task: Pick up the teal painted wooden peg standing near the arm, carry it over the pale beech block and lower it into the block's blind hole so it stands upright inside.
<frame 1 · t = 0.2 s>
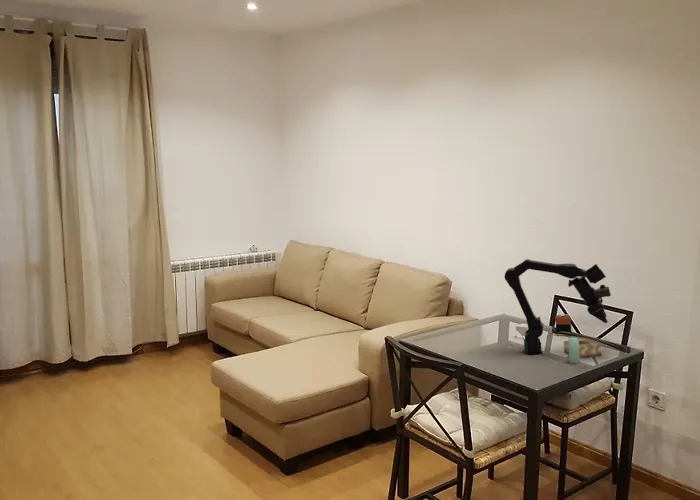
hand: (606, 319, 262), 15 cm above the table, tool tilted 30°, fingers open, 9 cm apart
bore block: (582, 353, 265), on the table
battery: (563, 335, 298), on the table
light grey cone: (525, 337, 299), on the table
peg: (574, 362, 255), on the table
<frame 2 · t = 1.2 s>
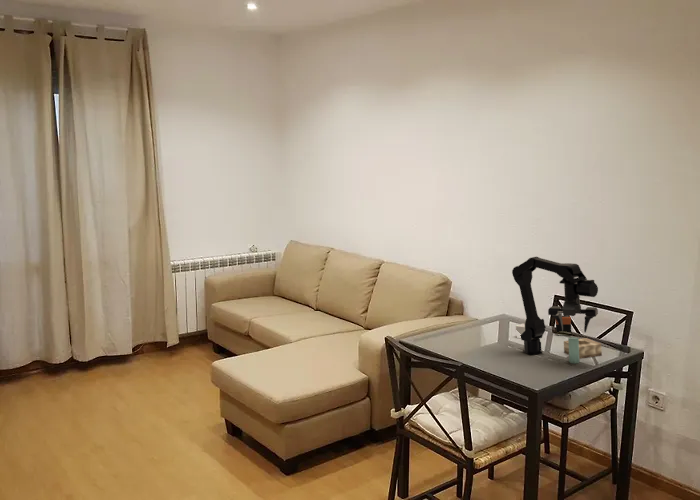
hand: (573, 331, 254), 13 cm above the table, tool pointing down, fingers open, 9 cm apart
nothing on the table moved.
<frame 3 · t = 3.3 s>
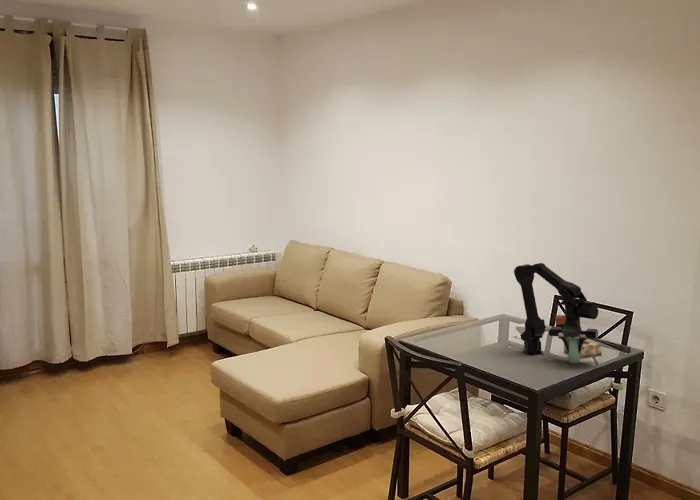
hand: (574, 352, 254), 4 cm above the table, tool pointing down, fingers closed on peg, 4 cm apart
peg: (574, 362, 255), on the table, touching gripper
everything else where it was.
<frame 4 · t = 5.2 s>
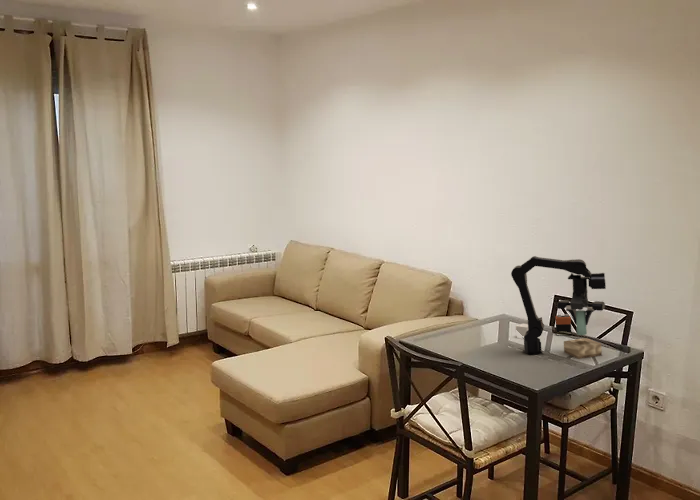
hand: (581, 324, 263), 13 cm above the table, tool pointing down, fingers closed on peg, 4 cm apart
peg: (581, 333, 264), point 9 cm above the table, touching gripper
everything else where it was.
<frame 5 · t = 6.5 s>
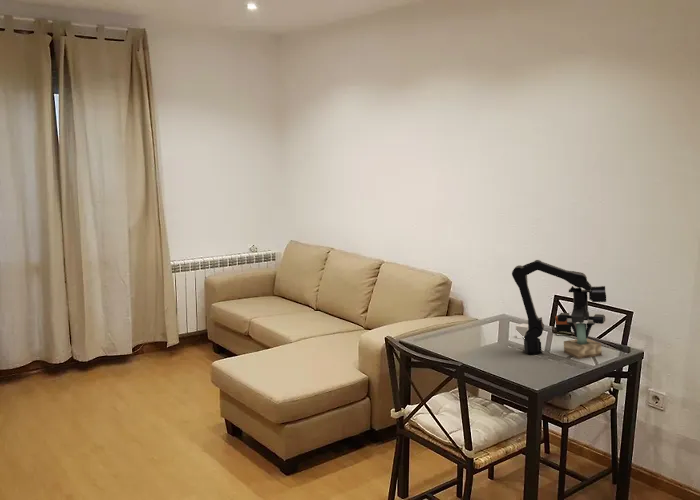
hand: (581, 337, 264), 7 cm above the table, tool pointing down, fingers closed on peg, 4 cm apart
peg: (582, 346, 265), point 3 cm above the table, touching gripper
everything else where it was.
when the fingers open (5 cm above the table, at t = 7.6 s): peg stays where it is, resting on bore block.
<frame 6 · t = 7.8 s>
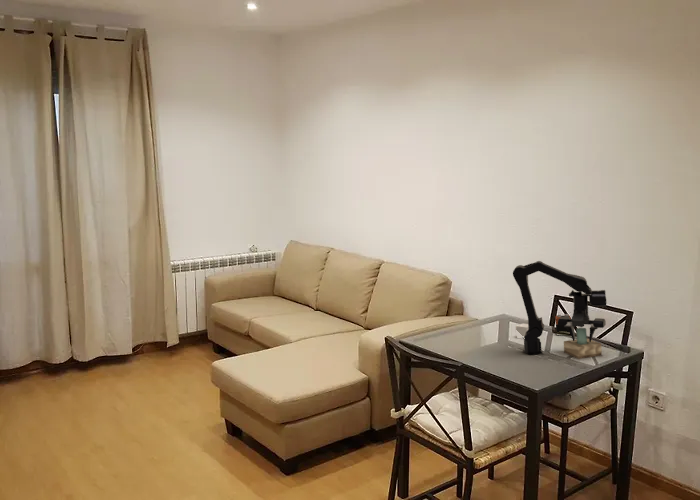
hand: (582, 341, 265), 5 cm above the table, tool pointing down, fingers open, 6 cm apart
peg: (582, 351, 265), point 1 cm above the table, touching bore block
everything else where it was.
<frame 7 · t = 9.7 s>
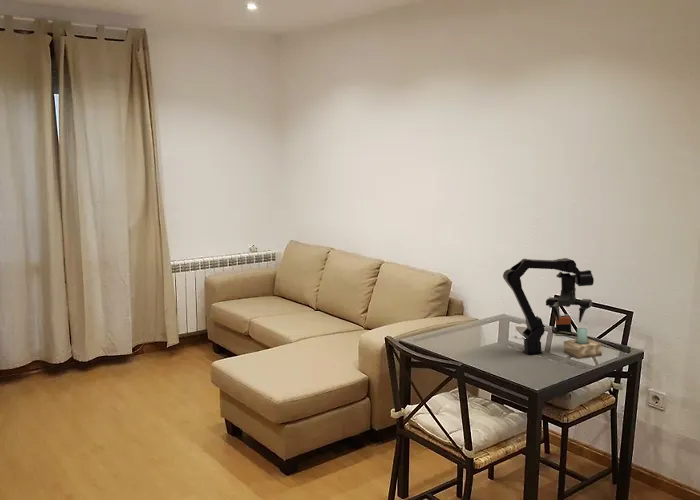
hand: (569, 321, 271), 13 cm above the table, tool pointing down, fingers open, 9 cm apart
nothing on the table moved.
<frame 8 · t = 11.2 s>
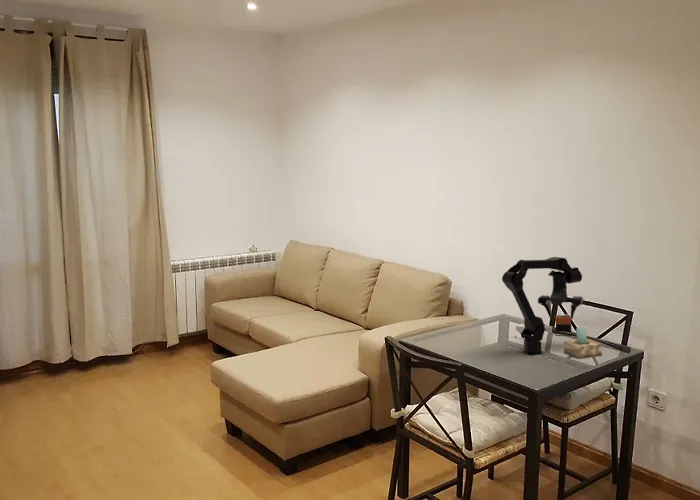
hand: (561, 318, 277), 13 cm above the table, tool pointing down, fingers open, 9 cm apart
nothing on the table moved.
at the end: peg 0.1 cm off-centre on the bore block, point 1.0 cm above the bore block's base; peg tilted 1°; the gripper is holding nothing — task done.
